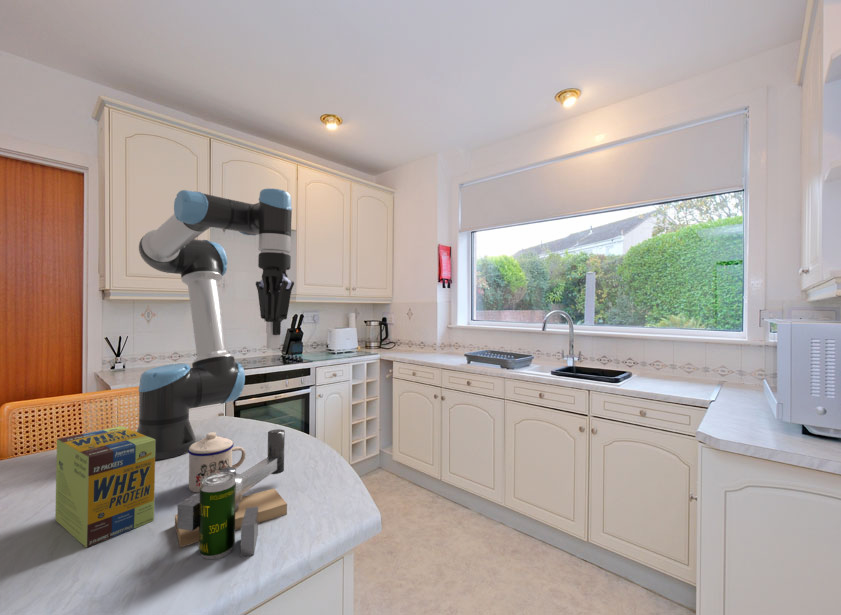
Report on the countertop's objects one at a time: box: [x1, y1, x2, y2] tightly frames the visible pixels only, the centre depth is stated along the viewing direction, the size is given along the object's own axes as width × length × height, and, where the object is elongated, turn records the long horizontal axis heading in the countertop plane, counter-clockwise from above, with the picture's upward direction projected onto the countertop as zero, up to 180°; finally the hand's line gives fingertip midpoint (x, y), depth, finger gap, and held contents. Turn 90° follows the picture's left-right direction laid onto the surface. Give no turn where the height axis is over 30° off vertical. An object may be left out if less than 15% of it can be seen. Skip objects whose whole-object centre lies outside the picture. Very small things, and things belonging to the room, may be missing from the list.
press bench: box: [174, 488, 288, 548], centre depth 74 cm, size 8×18×2 cm, turn 128°
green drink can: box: [198, 472, 236, 560], centre depth 65 cm, size 5×5×12 cm
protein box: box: [54, 425, 156, 549], centre depth 73 cm, size 10×15×16 cm
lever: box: [177, 428, 286, 531], centre depth 77 cm, size 28×5×9 cm, turn 168°
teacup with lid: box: [187, 431, 247, 493], centre depth 89 cm, size 12×9×12 cm
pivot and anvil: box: [220, 467, 259, 558], centre depth 70 cm, size 15×6×10 cm, turn 38°
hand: (273, 348), depth 97 cm, fingers closed
